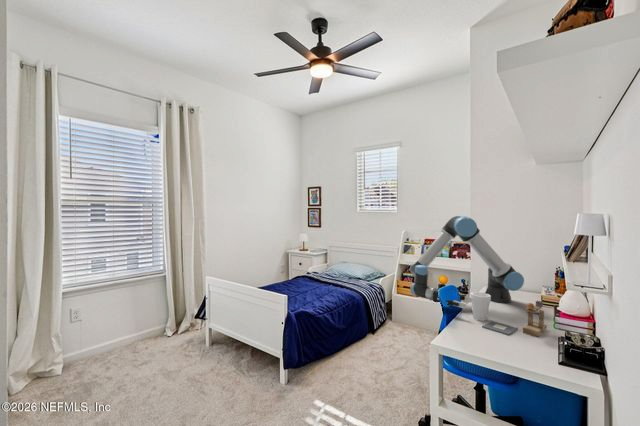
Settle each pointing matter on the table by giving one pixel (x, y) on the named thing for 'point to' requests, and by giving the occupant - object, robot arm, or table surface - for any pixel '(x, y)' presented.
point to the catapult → (535, 327)
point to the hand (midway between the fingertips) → (471, 303)
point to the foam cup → (480, 305)
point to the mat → (500, 327)
